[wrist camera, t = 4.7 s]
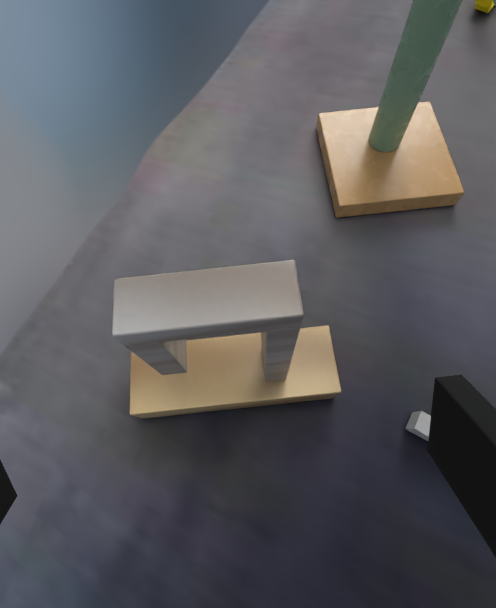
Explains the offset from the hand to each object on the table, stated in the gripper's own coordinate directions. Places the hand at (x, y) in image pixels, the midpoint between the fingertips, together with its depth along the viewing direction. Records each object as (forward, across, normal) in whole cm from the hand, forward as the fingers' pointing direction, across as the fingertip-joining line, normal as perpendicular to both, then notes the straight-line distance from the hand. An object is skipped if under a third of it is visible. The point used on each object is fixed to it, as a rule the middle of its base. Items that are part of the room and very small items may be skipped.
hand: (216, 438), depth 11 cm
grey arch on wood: (+12, 0, -6) cm, 13 cm away
